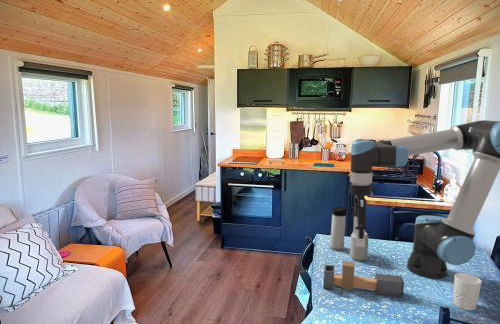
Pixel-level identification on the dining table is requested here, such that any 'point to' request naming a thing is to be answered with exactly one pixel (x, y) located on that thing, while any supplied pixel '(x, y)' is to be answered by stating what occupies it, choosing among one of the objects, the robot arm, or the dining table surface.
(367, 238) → the can
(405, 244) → the dining table surface
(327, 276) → the socket
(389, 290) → the sleeve
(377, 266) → the dining table surface
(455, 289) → the white cup
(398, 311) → the dining table surface
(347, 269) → the l-shaped wooden block pair
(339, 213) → the travel mug
